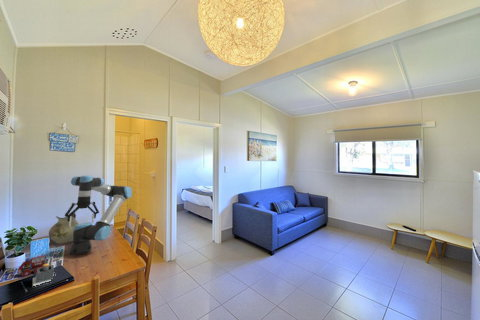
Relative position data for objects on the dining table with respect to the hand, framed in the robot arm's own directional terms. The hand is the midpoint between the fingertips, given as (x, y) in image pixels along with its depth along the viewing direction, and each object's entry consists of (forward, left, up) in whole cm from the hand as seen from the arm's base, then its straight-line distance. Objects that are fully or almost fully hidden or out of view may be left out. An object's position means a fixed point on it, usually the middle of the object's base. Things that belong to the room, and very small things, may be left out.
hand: (81, 224), depth 145 cm
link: (+14, -18, -28) cm, 36 cm away
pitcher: (-57, -2, -29) cm, 64 cm away
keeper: (+14, -18, -29) cm, 37 cm away
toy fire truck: (-2, -23, -29) cm, 37 cm away
